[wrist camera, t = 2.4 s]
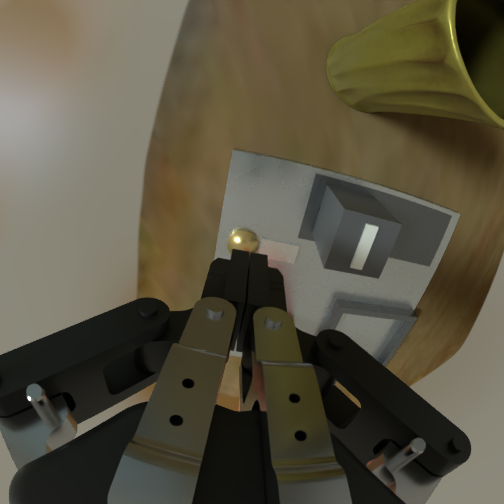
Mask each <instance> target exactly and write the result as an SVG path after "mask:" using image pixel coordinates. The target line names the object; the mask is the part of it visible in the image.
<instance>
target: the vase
mask: <svg viewBox="0 0 504 504" xmlns="http://www.w3.org/2000/svg"><path fill="white" fill-rule="evenodd" d="M326 71H327V76H328V80H329V82H330V85H331V87H332V89H333V90H334V92H335V93H336V94H337V95H338V97H339V98H340V99H341V100H343V101H344V102H345V103H346V104H348V105H349V106H351V107H353V108H355V109H357V110H360V111H364V112H369V113H374V112H398V113H409V114H422V115H430V116H438V117H446V118H452V119H459V120H464V121H470V122H476V123H481V124H485V125H489V126H493V127H497V128H500V129H503V130H504V0H417V1H415V2H412V3H410V4H408V5H406V6H403V7H401V8H399V9H398V10H396V11H394V12H392V13H390V14H388V15H386V16H384V17H382V18H381V19H379V20H377V21H375V22H373V23H372V24H370V25H368V26H367V27H365V28H364V29H363V30H362V31H361V32H359V33H358V34H352V35H349V36H346V37H344V38H342V39H340V40H339V41H338V42H336V43H335V44H334V45H333V47H332V48H331V50H330V52H329V54H328V58H327V62H326Z"/></svg>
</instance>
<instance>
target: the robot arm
mask: <svg viewBox="0 0 504 504" xmlns="http://www.w3.org/2000/svg"><path fill="white" fill-rule="evenodd" d="M236 340H237V344H236ZM235 345H236V351H237V352H242V360H241V364H240V367H239V386H240V411H239V412H238V411H233V410H230V409H227V408H225V407H222V406H219V405H217V404H216V403H217V399H218V395H219V390H220V386H221V382H222V377H223V373H224V369H225V364H226V363H227V361H228V359H229V354H230V350H231V351H234V349H235ZM156 381H157V382H156ZM336 381H338V382H339V383H340V384H341V385H342V386H343V387H345V388H346V389H347V390H348V391H349V392H350V393H351V394H352V395H353V396H354V397H356V398H357V399H358V400H359V402H360V404H361V408H359V407H358V406H357V405H356V404H355V403H354V402H353V401H351V400H350V399H349V398H348V397H347V396H346V395H345V394H344V393H343V392H342V391H341V390H339V389H338V388H337V387H336V386H335V385H334V384H335V383H336ZM154 382H156V384H155V386H154V389H153V391H152V394H151V396H150V398H149V401H148V402H142V403H139V404H136V405H133V406H131V407H129V408H127V409H125V410H123V411H122V412H120V413H118V414H116V415H115V416H113V417H111V418H110V419H108V420H107V421H105V422H103V423H101V424H100V425H98V426H96V427H94V428H93V429H91V430H89V431H87V432H86V433H84V434H82V435H80V436H78V437H77V438H75V439H74V437H75V436H76V433H77V424H79V423H81V422H83V421H85V420H87V419H89V418H91V417H93V416H95V415H97V414H99V413H100V412H102V411H104V410H106V409H108V408H110V407H112V406H114V405H115V404H117V403H119V402H121V401H123V400H125V399H126V398H128V397H130V396H132V395H133V394H135V393H137V392H139V391H141V390H143V389H144V388H146V387H148V386H150V385H151V384H153V383H154ZM0 431H1V433H2V436H3V438H4V440H5V443H6V445H7V447H8V450H9V452H10V454H11V457H12V459H13V461H14V463H15V465H16V467H17V469H18V471H17V473H16V474H15V476H14V477H13V480H12V482H11V485H10V489H9V502H10V504H425V503H426V501H427V500H428V499H429V497H430V496H431V494H432V493H433V491H434V490H435V488H436V486H437V485H438V483H439V482H440V480H441V478H442V477H443V476H445V475H446V474H448V473H450V472H451V471H453V470H454V469H455V468H457V467H458V466H460V465H461V464H463V463H464V462H466V461H467V459H468V458H469V456H470V454H471V445H470V441H469V439H468V437H467V436H466V434H465V433H464V432H463V431H461V430H460V429H459V428H458V427H457V426H455V425H454V424H453V423H452V422H451V421H449V420H448V419H447V418H446V417H445V416H443V415H442V414H441V413H440V412H439V411H437V410H436V409H435V408H433V407H432V406H431V405H430V404H429V403H428V402H427V401H425V400H424V399H423V398H422V397H420V396H419V395H418V394H417V393H415V392H414V391H413V390H412V389H411V388H410V387H409V386H407V385H406V384H405V383H404V382H402V381H401V380H400V379H399V378H398V377H396V376H395V375H394V374H393V373H392V372H390V371H389V370H388V369H387V368H386V367H385V366H383V365H382V364H381V363H380V362H379V361H377V360H376V359H375V358H374V357H373V356H371V355H370V354H369V353H368V352H367V351H365V350H364V349H363V348H362V347H361V346H359V345H358V344H357V343H356V342H355V341H353V340H352V339H351V338H350V337H349V336H347V335H346V334H344V333H343V332H340V331H338V330H333V329H326V330H323V331H321V332H319V333H318V335H317V336H314V335H311V334H308V333H306V332H303V331H301V330H299V329H298V328H296V327H295V324H294V321H293V319H292V317H291V316H290V315H289V314H288V313H287V305H286V296H285V287H284V278H283V275H282V274H281V272H280V271H279V270H278V268H272V267H268V255H265V254H260V253H254V252H250V255H249V251H243V250H238V249H233V248H232V254H231V259H230V260H229V259H223V258H217V259H215V260H214V261H213V262H212V263H211V265H210V269H209V272H208V275H207V279H206V282H205V286H204V289H203V293H202V296H201V299H200V300H199V301H197V302H196V304H195V305H194V308H191V309H189V310H185V311H170V310H169V307H168V306H167V305H166V304H165V303H164V302H162V301H161V300H158V299H155V298H140V299H137V300H134V301H132V302H129V303H127V304H124V305H122V306H120V307H117V308H115V309H112V310H110V311H108V312H105V313H103V314H100V315H97V316H95V317H93V318H90V319H88V320H85V321H83V322H80V323H78V324H76V325H73V326H71V327H68V328H66V329H63V330H61V331H58V332H56V333H53V334H51V335H49V336H46V337H44V338H41V339H39V340H36V341H34V342H31V343H29V344H26V345H24V346H21V347H19V348H17V349H14V350H12V351H9V352H7V353H4V354H2V355H0Z"/></svg>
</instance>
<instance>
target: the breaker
mask: <svg viewBox="0 0 504 504" xmlns="http://www.w3.org/2000/svg"><path fill="white" fill-rule="evenodd" d="M401 226H402V224H401V223H400V222H399V221H398V220H397V219H396V218H395V217H394V216H393V215H392V214H391V213H390V212H389V211H388V210H387V209H386V208H385V207H384V206H383V205H382V204H381V203H380V202H379V201H378V200H377V199H376V198H374V197H371V196H367V195H364V194H360V193H356V192H353V191H349V190H345V189H342V188H338V187H334V186H330V185H327V186H326V190H325V193H324V197H323V200H322V203H321V207H320V210H319V213H318V217H317V220H316V223H315V226H314V230H313V233H312V235H313V238H314V240H315V243H316V246H317V249H318V252H319V255H320V258H321V261H322V264H323V268H324V269H329V270H335V271H340V272H345V273H351V274H356V275H361V276H367V277H372V278H377V279H379V277H380V275H381V273H382V271H383V269H384V266H385V264H386V262H387V260H388V257H389V255H390V253H391V250H392V248H393V246H394V243H395V241H396V239H397V236H398V234H399V231H400V229H401Z"/></svg>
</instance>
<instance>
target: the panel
mask: <svg viewBox="0 0 504 504" xmlns="http://www.w3.org/2000/svg"><path fill="white" fill-rule="evenodd" d="M327 185H330V186H334V187H338V188H342V189H345V190H349V191H353V192H356V193H360V194H364V195H367V196H371V197H374V198H376V199H377V200H378V201H379V202H380V203H381V204H382V205H383V206H384V207H385V208H386V209H387V210H388V211H389V212H390V213H391V214H392V215H393V216H394V217H395V218H396V219H397V220H398V221H399V222H400V223H401V224H402V226H401V229H400V231H399V234H398V236H397V239H396V241H395V243H394V246H393V248H392V250H391V253H390V255H389V257H388V260H387V262H386V264H385V266H384V269H383V271H382V273H381V275H380V277H379V279H377V278H372V277H367V276H361V275H356V274H351V273H345V272H340V271H335V270H329V269H324V268H323V264H322V261H321V258H320V255H319V252H318V249H317V246H316V243H315V240H314V238H313V235H312V233H313V230H314V226H315V223H316V220H317V217H318V213H319V210H320V207H321V203H322V200H323V197H324V193H325V190H326V186H327ZM460 215H461V214H459V213H458V212H456V211H454V210H451V209H449V208H446V207H444V206H441V205H438V204H436V203H433V202H430V201H428V200H425V199H422V198H419V197H416V196H414V195H411V194H408V193H405V192H402V191H399V190H396V189H393V188H390V187H387V186H384V185H380V184H377V183H374V182H371V181H367V180H364V179H361V178H357V177H354V176H350V175H347V174H343V173H340V172H336V171H332V170H328V169H325V168H321V167H317V166H313V165H309V164H305V163H300V162H296V161H292V160H288V159H283V158H279V157H274V156H269V155H264V154H259V153H254V152H249V151H244V150H239V149H233V153H232V158H231V163H230V169H229V174H228V180H227V186H226V191H225V197H224V203H223V209H222V215H221V221H220V227H219V233H218V239H217V245H216V252H215V258H214V260H215V259H217V258H223V259H229V260H230V259H231V254H232V248H233V249H238V250H243V251H249V255H250V252H254V253H260V254H265V255H268V267H272V268H278V270H279V271H280V272H281V274H282V275H283V278H284V287H285V296H286V305H287V313H288V314H290V316H291V317H292V318H293V320H294V324H295V327H296V328H298V329H299V330H301V331H303V332H306V333H308V334H311V335H314V336H317V335H318V333H319V332H321V331H323V330H326V329H333V330H338V331H340V332H343V333H344V334H346V335H347V336H349V337H350V338H351V339H352V340H353V341H355V342H356V343H357V344H358V345H359V346H361V347H362V348H363V349H364V350H365V351H367V352H368V353H369V354H370V355H371V356H373V357H374V358H375V359H376V360H377V361H379V362H380V363H381V364H382V365H383V366H386V365H387V363H388V362H389V360H390V359H391V358H392V356H393V355H394V353H395V352H396V350H397V349H398V348H399V346H400V345H401V343H402V342H403V340H404V339H405V337H406V335H407V334H408V332H409V331H410V329H411V328H412V326H413V324H414V323H415V321H416V320H417V318H418V317H417V315H416V313H415V311H414V309H415V308H416V306H417V304H418V302H419V301H420V299H421V297H422V295H423V293H424V292H425V290H426V288H427V286H428V284H429V282H430V280H431V278H432V277H433V275H434V273H435V271H436V269H437V267H438V265H439V262H440V260H441V258H442V256H443V254H444V252H445V250H446V248H447V245H448V243H449V241H450V239H451V236H452V234H453V232H454V229H455V227H456V225H457V222H458V220H459V217H460ZM236 344H237V340H236ZM229 355H232V356H238V357H242V352H237V351H236V345H235V349H234V351H231V350H230V354H229Z"/></svg>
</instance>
